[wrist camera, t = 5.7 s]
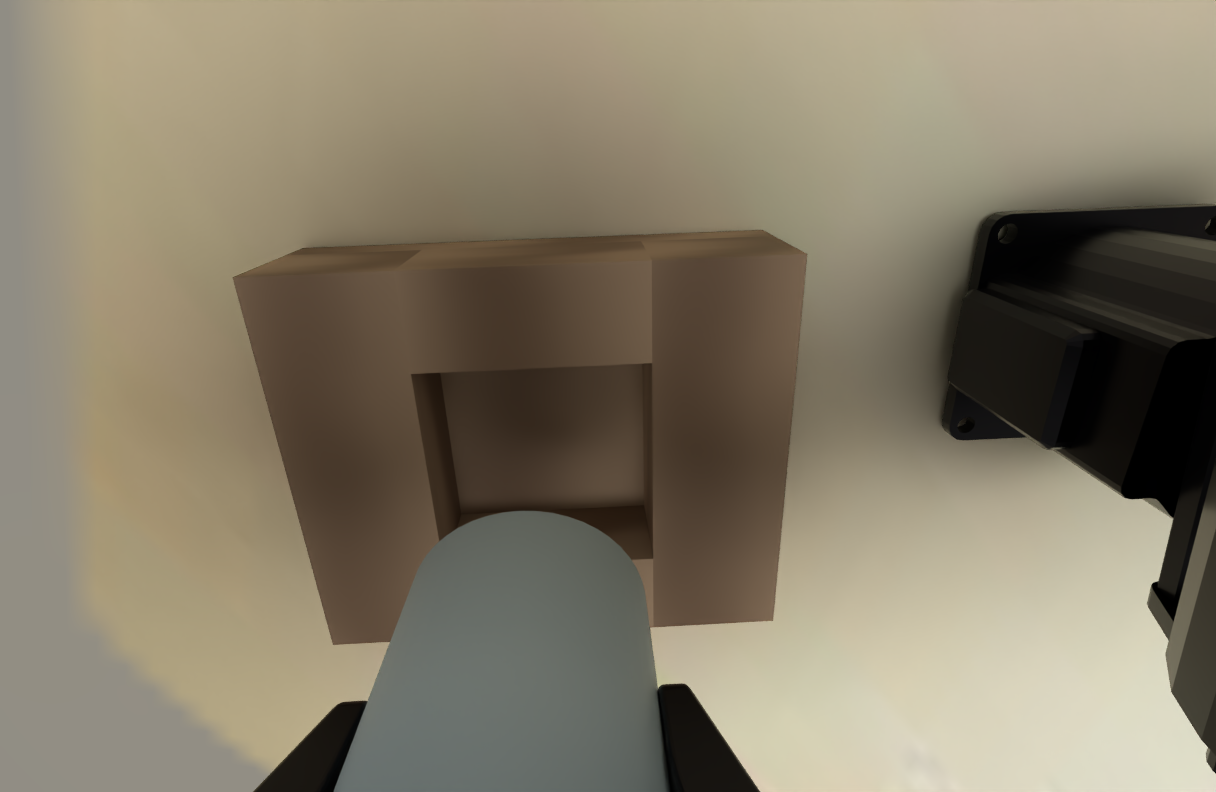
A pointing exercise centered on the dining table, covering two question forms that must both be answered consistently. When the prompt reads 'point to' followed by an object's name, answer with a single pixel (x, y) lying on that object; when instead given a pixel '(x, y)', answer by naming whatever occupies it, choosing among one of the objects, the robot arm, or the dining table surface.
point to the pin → (516, 669)
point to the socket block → (535, 406)
